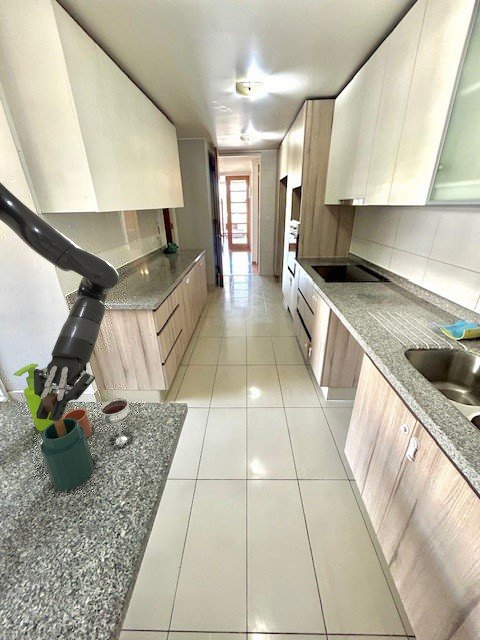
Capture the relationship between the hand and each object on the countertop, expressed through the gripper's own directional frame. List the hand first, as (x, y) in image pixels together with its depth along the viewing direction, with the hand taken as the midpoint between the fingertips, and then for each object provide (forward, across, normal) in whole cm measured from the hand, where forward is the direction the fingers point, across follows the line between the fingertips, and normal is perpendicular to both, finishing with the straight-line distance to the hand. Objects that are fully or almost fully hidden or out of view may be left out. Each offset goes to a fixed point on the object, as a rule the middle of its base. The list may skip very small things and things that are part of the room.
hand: (47, 419), depth 53 cm
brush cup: (+4, -7, +22) cm, 24 cm away
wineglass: (+4, +6, +22) cm, 23 cm away
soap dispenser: (+2, -19, +24) cm, 31 cm away
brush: (+10, 0, +13) cm, 16 cm away
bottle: (+12, 0, +14) cm, 18 cm away
